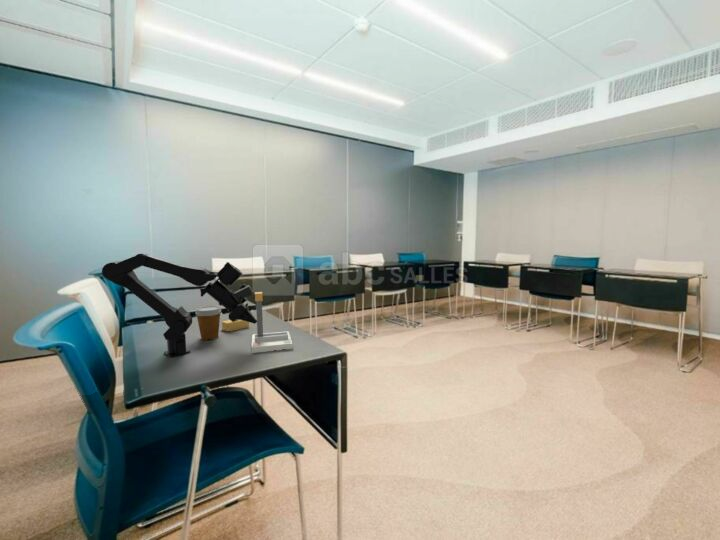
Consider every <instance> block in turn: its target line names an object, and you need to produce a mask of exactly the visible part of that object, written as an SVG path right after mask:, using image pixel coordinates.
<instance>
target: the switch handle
mask: <svg viewBox="0 0 720 540" xmlns="http://www.w3.org/2000/svg"><path fill="white" fill-rule="evenodd" d="M254 299H255V300H254V301H255V302H256V303H255V305H256V310H255V311H256V320H257V322H256V327H257V328H256V329H257V333H256V334H257V336H258V337H261V336H263V333H264V324H263V323H264V322H263V319H264V318H263V301H264V300H263V291H255V292H254Z"/></svg>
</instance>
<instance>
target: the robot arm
mask: <svg viewBox="0 0 720 540" xmlns="http://www.w3.org/2000/svg"><path fill="white" fill-rule="evenodd" d="M140 267H145V268H148V269H152V270H156V271H158V272H162V273H166V274H169V275H172V276H176V277H179V278H180V279H182V280H184V281H186V282H187V283H189V284H192V285H193V286H196V287H201V288H200V289H199V290H200V297H204V296H205V295H206V294H208V295H209V296H210V297H211V298H212V299H214V300H215V301H216V302H218V305H219V307H220V306H222V307H223V308H225V309H226V310H227V313H228V320H231V321H232V322H234V321H235V320H236V319H239V320H243V321H247V322H249V323H250V324H251V323H252V324H257V318H256V317H255V316H254V315H253V313H252V312H251V311H250V310H249V309H250V308H249V302H247V301H248V298H247V297H249V296H252V295H253V294H254V291H253V289H252V287H251V285H250V284H247V285H246V284H245V283H244V284H241V285H240V287H239V288H240V289H238V290H236V291H235V290H233V289H229V288H228V287H227V286H233V285H234V284H235V283H236V282H237V280H239V279H240V278H241V277H242V276H243V274H244V273H243V272H242V271H241V270H240V269H239V268H237V267H236V266H235V265H233V264H232V263H230V262H229V261H227V262H226V263H225V264H224V265H223V267H222V268H221V269H220V270H219V271H210V270H209V269H206V268H203V267H198V266H190V265H189V266H187V265H182V264H179V263H175V262H173V261H169V260H166V259H163V258H160V257H156V256H153V255H150V254H148V253H146V252H145V253H144V252H143V253H137V254H135V255H133V256H131V257H129V258H126V259H124V260H121V261H113V262H111V261H110V262H108V263H106V264H105V265H103V267H102V269H101V275H102V277H103V278H104V279H106V280H107V281H109V282H111V283H113V284H114V285H117V286H119V287H122V288H125V289H127V290H128V291H129V292H131V294H133V295H135V297H137V298H138V299H139V300H141V301H142V302H143V303H145V304H146V305H147V306H148V307H149V308H151V309H152V310H153V311H154V312H155V313H157V314H158V315H159V316H160V317H162V319H163V321H164V322H165V325H166V326H168V329H167V330H166V331H165V332H164V333H163V334H162V335H163V338H164V339H165V341H166V345H167V346H166V347H167V350H166V351H163V354H164V355H166V356H169V357H170V358H173V357H177V356H180V355H185V354H189V353H191V350H190V349H188V348H187V341H186V339H187V338H186V334H185V333H186V332H187V331H188V330H189V328H190V327H191V325H192V324H193V317H192V316H191V312H189V311H187V310H186V309H185V308H184V307H183V306H179V307H178V308H177V307H174V306H172V305H171V304H169V303H168V302H167V301H166V300H164V299H163V297H161V296H160V295H159V294H157V293H156V292H155V291H153V289H151V288H150V287H149V286H148V285H146V284H145V283H144V282H142V281H141V280H140V279H139V278H138V276H137V274H136V272H135V271H134V270H136V269H140ZM216 278H217V279H216ZM215 279H216V280H215ZM214 280H215V281H214ZM213 281H214V282H213ZM207 283H208V284H207ZM204 285H206V286H204ZM202 286H204V287H202ZM246 302H247V303H246ZM244 303H246V304H244Z"/></svg>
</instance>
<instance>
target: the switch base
mask: <svg viewBox="0 0 720 540" xmlns="http://www.w3.org/2000/svg"><path fill="white" fill-rule="evenodd" d="M282 349H286V350H293V341H292V338H291V333H290V332H289V330H287V331H277V332H265V333H264V332H263V336H261V337H258V336H257V333H253V334H252V336H251V354H255V353H265V352H275V351H274V350H276V351H283V350H282Z"/></svg>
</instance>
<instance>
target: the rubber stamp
mask: <svg viewBox="0 0 720 540" xmlns="http://www.w3.org/2000/svg"><path fill="white" fill-rule="evenodd" d="M249 327H250V322H247V321H243V320H239V319H236V320H235V321H234V322H232V321H231V320H230V319H227V320H223V321H221V330H222V329H223V330H222V331H225V330H226V331H225V332H227V331H230V332H233V330H234V331H238V330H241V329H246V328H249Z"/></svg>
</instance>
